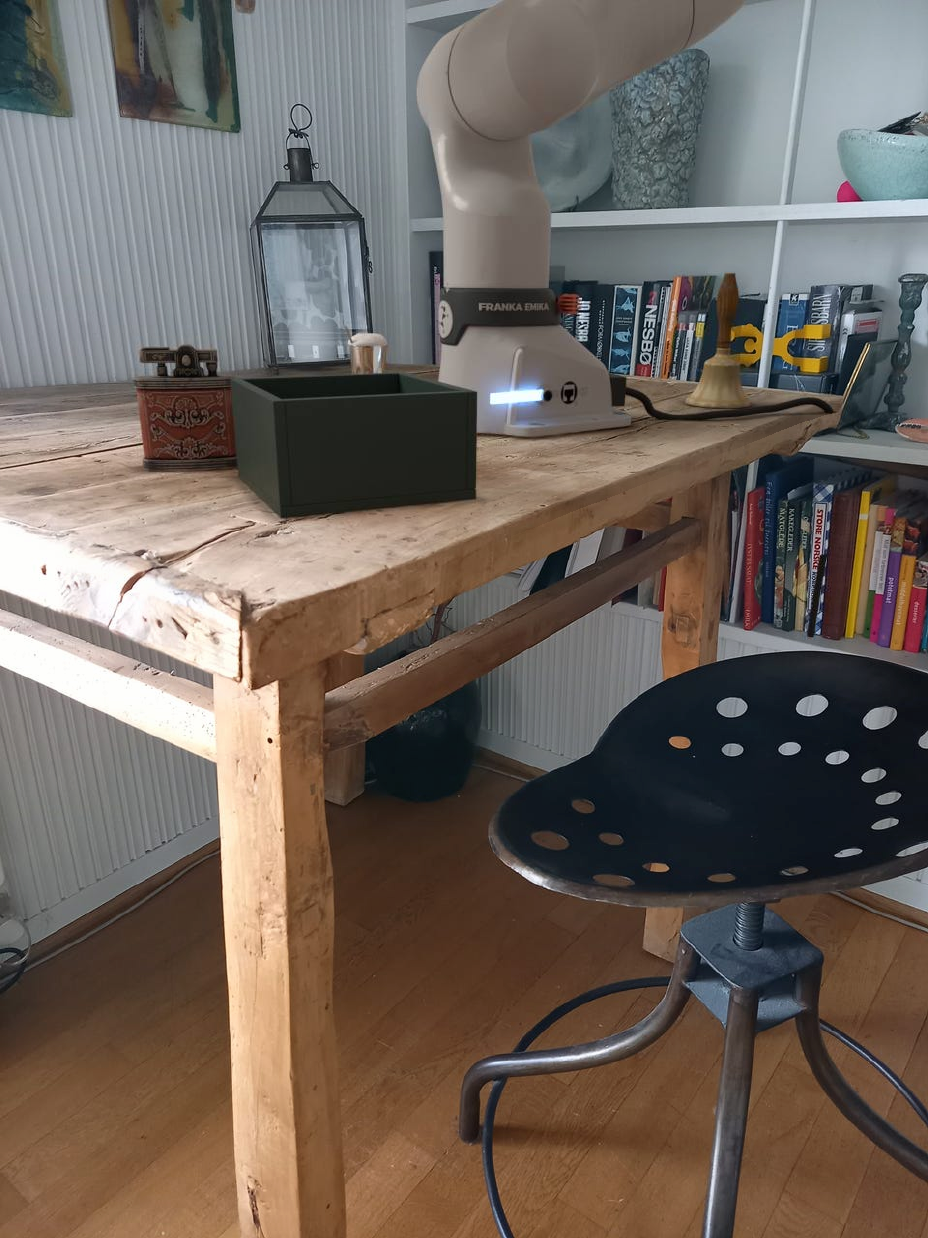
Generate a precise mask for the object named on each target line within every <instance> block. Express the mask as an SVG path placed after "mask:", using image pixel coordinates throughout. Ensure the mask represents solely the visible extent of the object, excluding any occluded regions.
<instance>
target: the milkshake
mask: <svg viewBox="0 0 928 1238" xmlns="http://www.w3.org/2000/svg"><path fill="white" fill-rule="evenodd" d="M344 330H345V331H346V332H345V333H346V335H347V337H348V340H347V347H348V354H349V355H348V356H349V362H350V369H351V374H366V373H386V368H387V367H386V365H387V351H388V341H387V340H386V338H385V337H384V336H383V334H380V333H369V332H363V333H361V332H358V333H356V334H353V336H351V333H350V330H349V328H348V326H347V325H344Z"/></svg>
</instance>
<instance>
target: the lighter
mask: <svg viewBox="0 0 928 1238" xmlns="http://www.w3.org/2000/svg"><path fill="white" fill-rule="evenodd" d="M138 357H139V363H140V364H157V366H156V374H157V375H137V376H133V377H132V380H133V381H132V382H133V387H134V388H135V389H136V396H137V405H138V414H139V421H140V431H141V439H142V446H143V455H144V456H143V457H142V465H143V470H145V471H149V472H182V471H184V472H185V471H186V472H187V471H190V472H191V471H209V470H210V471H211V470H224V469H225V470H227V469H235V468H238V467H237V456H236V444H235V432H234V420H233V408H232V396H231V383H230V379H231V378H235V376H234V375H232V374H218V372H217V371H218V367H219V366H218V362H219V358H218V349H217V348H197V349H196V348H195V347H194V346H193V345H192V344H190V343H183V344H180V345H179V347H178V348H177V349H176V348H175V349H170V346H141V347H140V349H139V350H138ZM201 363H203V364H204V363H205V368H206V370H207V374H205V370H204V368H203V367H202V366H201ZM166 364H174V369H172V374H169V373H168V372H169V371H168V366H167V365H166Z"/></svg>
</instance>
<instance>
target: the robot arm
mask: <svg viewBox="0 0 928 1238" xmlns="http://www.w3.org/2000/svg"><path fill="white" fill-rule="evenodd" d="M747 2H748V0H501V1H500V2H498V3H495V4H494V5H493V6H491V7H488V8H487V9H486V10H484V11H483V12H481V13H479V14H477V15H475V16H474V17H472V18H471V19H469V20H467V21H465V22H464V23H462V24H461V25H459V26H458V27H455V28H454V29H452V30H450V31H449V32H447V33H445V34H444V35H443V36H442V37H441V38H440V39H439V40H438V41H437V43H436V44H435V45H434V46H433V48H432V49H431V51H430V52H429V54H428V55H427V57H426V59H425V61H424V63H423V65H422V66H421V68H420V71H419V73H418V77H417V83H416V102H417V106H418V110H419V113H420V116H421V118H422V120H423V122H424V124H425V126H426V127H427V128H428V130H429V135H430V140H431V146H432V150H433V156H434V161H435V167H436V171H437V172H436V173H437V178H438V184H439V190H440V196H441V197H440V198H441V203H442V204H441V205H442V206H441V207H442V226H443V227H442V235H443V236H442V238H443V239H442V241H443V243H442V244H443V246H442V247H443V248H442V249H443V287H441V289H440V290H439V301H438V302H439V303H438V304H439V305H438V317H437V318H438V319H437V320H438V331H439V333H438V334H439V342H440V344H441V351H440V360H439V361H440V362H439V371H438V378H437V381H439V382H443V383H447V384H450V385H454V386H458V387H462V388H465V389H469V390H473V391H476V392H477V434H491V435H494V434H495V435H505V436H514V437H522V438H523V437H524V438H526V437H527V438H536V437H544V436H553V435H562V434H571V433H577V432H587V431H597V430H603V429H612V428H621V427H628V426H631V425H632V417H631V415H630V414H629V413H627V412H625V411H622V410H620V409H616V408H613V407H625V406H626V396H628V397H631V398H634V399H636V400H638V401H639V402H640V403H641V404H642V406H643V408H644V411H645V412H646V413H647V414H648V415H649V416H650V417H651V418H653V419H657V420H659V421H683V422H684V421H686V422H689V421H690V422H691V421H693V422H696V421H697V422H698V421H699V422H701V421H706V420H716V419H729V418H730V419H731V418H741V417H748V416H753V415H760V414H769V413H778V412H782V411H785V410H790V409H793V408H796V407H801V406H808V405H809V406H815V407H818V408H819V409H820V410H822V411H823V412H824V413H826V414H835V410H834V409H833V407H832V406H831V405H830V404H829V403H828V402H827V401H825V400H823V399H821V398H820V397H815V396H814V397H813V396H808V397H807V396H806V397H800V398H799V397H798V398H795V399H791V400H787V401H783V402H780V403H774V404H767V405H757V406H756V405H755V406H749V407H744V408H734V409H720V410H719V409H718V410H711V411H703V412H696V413H687V414H672V413H666V412H663V411H661V410H658V409H656V408H655V407H654V406H653V403H652V401H651V399H650V398H649V397H648V396H647V395H646V394H645V393H643V392H642V391H639V390H638V389H635V388H632V387H628V386H627V381H628V380H627V379H628V378H627V376H623V375H619V374H615V373H612V372H609V371H608V369H607V367H606V365H605V364H604V363H603V362H602V361H601V360H600V359H599V358H598V357H597V356H595V355H594V354H593V353H592V351H591V352H590V350H589V349H588V348H587V347H585V345H583V344H582V343H581V342H579V340H577V338H576V337H574V336H573V334H571V333H570V332H569V331H568V330H566V329H565V328H564V327H563V325H562V323H563V319H562V316H561V314H565V315H566V314H568V315H577V314H578V313H579V312H580V311H579V310H581V309H582V307H581V306H583V303H582V299H581V298H580V295H579V294H576V293H570V294H569V293H563V294H562V295H560V296H559V295H558V294H557V293H556V292H555V291H553V290H552V289H551V288H549V287H550V285H549V284H550V264H551V263H550V260H551V235H552V233H551V232H552V209H551V205H550V202H549V200H548V198H547V196H546V195H545V193H544V192H543V190H542V188H541V185H540V183H539V180H538V175H537V172H536V167H535V161H534V157H533V149H532V134H536V133H540V132H543V131H546V130H548V129H550V128H552V127H554V126H555V125H557V124H558V123H560V122H562V121H564V120H566V119H567V118H569V117H570V116H573V115H574V114H576V113H577V112H579V111H580V110H583V109H584V108H587V106H589V105H591V104H593V103H594V102H595V101H597V100H598V99H600V98H601V97H603V96H604V95H606V94H607V93H608V92H610V91H612V90H613V89H615V88H616V87H618V86H619V85H622V84H624V83H626V82H627V81H629V80H631V79H633V78H635V77H637V76H640V75H641V74H643V73H645V72H647V71H649V70H651V69H652V68H654V67H656V66H659V65H660V64H662V63H663V62H665V61H667V60H669V59H672V58H674V57H676V56H677V55H679V54H680V53H683V52H684V51H686V50H688V49H690V48H692V47H693V46H695V45H696V44H698V43H699V42H701V41H702V40H704V39H705V38H707V37H708V36H710V35H711V34H712V33H713V32H715V31H716V30H718V29H719V28H720V27H721V26H723V25H724V24H725V23H727V22H728V21H729V20H730V19H731V18H732V17H734V16H735V15H736V14H737V13H738V12H739V11H741V10H742V8H743V7H744V6H745V5H746V4H747ZM233 8H234V10H235V11H236V12H237V13H241V14H247V15H251V14H253V13H254V12H255V9H256V0H233ZM578 306H579V307H578ZM827 559H828V553H823V554H819V557H818V563H817V568H816V575H815V580H814V585H813V592H812V598H811V604H810V610H809V611H810V612H809V615H808V616H809V617H808V626H807V633H806V637H807V638H814V637H815V632H816V624H817V617H818V611H819V605H820V599H821V593H822V586H823V583H824V582H823V581H824V575H825V569H826V566H827V565H826V564H827Z"/></svg>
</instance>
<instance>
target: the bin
mask: <svg viewBox="0 0 928 1238" xmlns="http://www.w3.org/2000/svg"><path fill="white" fill-rule="evenodd" d="M230 383H231V396H232V408H233V420H234V432H235V444H236V456H237V467H236V468H237V477H238V478H239V479H240V480H241V481H242V482H243V483H244V484H245V485H246V486H247V487H248V488H249V489H250V490H251V491H252V492H253V493H254V494H255V495H256V496H257V497H258V498H259V499H260V500H261V501H263V503H264V504H265V505H267V507H268V508H270V509H271V510H272V512H274V514H276V516H278V517H279V518H280V519H291V518H300V517H311V516H321V515H332V514H341V513H342V514H343V513H352V512H361V511H362V512H363V511H371V510H373V511H374V510H382V509H391V508H403V507H412V506H422V505H432V504H433V505H434V504H442V503H452V502H464V501H472V500H476V499H477V453H478V452H477V449H478V447H477V445H478V444H477V443H478V433H477V392H476V391H473V390H469V389H465V388H462V387H458V386H454V385H450V384H447V383H443V382H439V381H438V380H435V379H432V378H427V377H424V376H421V375H417V374H412V373H409V372H405V371H399V372H398V371H397V372H394V371H393V372H385V373H366V374H352V373H342V374H316V375H287V376H262V377H261V376H259V377H258V376H257V377H241V378H240V377H234V378H231V379H230Z"/></svg>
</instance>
